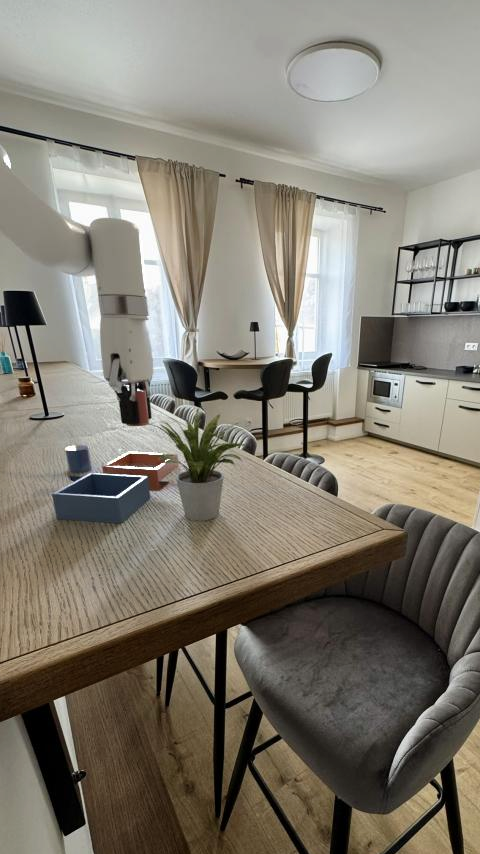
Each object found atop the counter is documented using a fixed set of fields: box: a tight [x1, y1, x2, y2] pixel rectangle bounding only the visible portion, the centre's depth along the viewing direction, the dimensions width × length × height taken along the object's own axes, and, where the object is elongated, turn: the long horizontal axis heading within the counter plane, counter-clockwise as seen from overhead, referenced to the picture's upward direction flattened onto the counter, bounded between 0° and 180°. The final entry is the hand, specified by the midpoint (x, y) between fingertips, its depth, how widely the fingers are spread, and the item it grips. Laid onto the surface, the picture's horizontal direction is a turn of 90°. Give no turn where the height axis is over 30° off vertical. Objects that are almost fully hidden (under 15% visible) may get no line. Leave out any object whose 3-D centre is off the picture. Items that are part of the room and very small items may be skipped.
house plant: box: [146, 406, 247, 522], centre depth 60 cm, size 14×14×16 cm
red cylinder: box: [125, 388, 150, 427], centre depth 73 cm, size 4×4×6 cm
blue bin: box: [51, 472, 151, 524], centre depth 65 cm, size 10×10×4 cm
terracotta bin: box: [101, 451, 179, 492], centre depth 78 cm, size 10×10×4 cm
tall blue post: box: [64, 444, 93, 482], centre depth 78 cm, size 4×4×6 cm
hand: (137, 420), depth 74 cm, fingers closed on red cylinder, 4 cm apart
